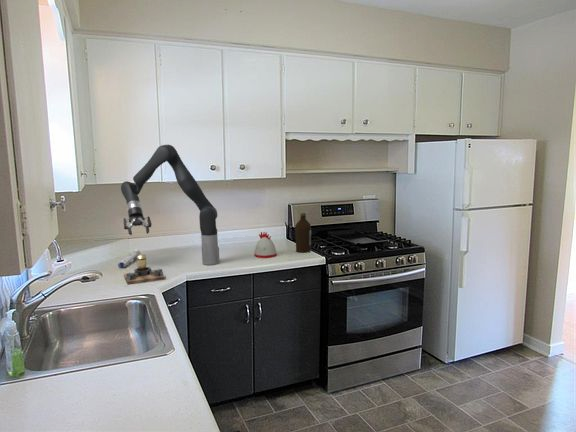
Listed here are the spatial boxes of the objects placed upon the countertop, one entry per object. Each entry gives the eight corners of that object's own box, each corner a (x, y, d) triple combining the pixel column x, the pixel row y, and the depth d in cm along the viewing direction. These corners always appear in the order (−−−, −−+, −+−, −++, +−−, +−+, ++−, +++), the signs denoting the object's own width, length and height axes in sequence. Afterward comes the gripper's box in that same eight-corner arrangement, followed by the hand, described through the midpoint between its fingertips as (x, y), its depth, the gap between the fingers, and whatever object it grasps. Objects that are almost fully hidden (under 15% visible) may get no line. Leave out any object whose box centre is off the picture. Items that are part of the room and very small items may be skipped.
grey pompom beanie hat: (261, 252, 269) (260, 229, 267) (280, 254, 263) (279, 231, 261) (250, 257, 256) (249, 233, 254) (269, 259, 250) (269, 234, 248)
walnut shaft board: (159, 272, 224) (158, 269, 224) (165, 279, 210) (165, 276, 210) (123, 276, 216) (123, 274, 216) (127, 284, 202) (127, 281, 202)
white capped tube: (116, 262, 232) (133, 246, 256) (117, 273, 234) (135, 256, 258) (125, 262, 232) (142, 246, 256) (126, 273, 234) (143, 256, 258)
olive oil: (295, 253, 264) (295, 214, 261) (294, 249, 275) (294, 212, 271) (312, 252, 265) (312, 214, 261) (310, 249, 275) (310, 212, 272)
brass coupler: (146, 272, 219) (145, 253, 217) (148, 274, 215) (146, 255, 213) (137, 273, 217) (135, 254, 215) (138, 275, 212) (137, 256, 211)
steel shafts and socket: (158, 269, 223) (158, 264, 223) (163, 275, 212) (163, 270, 211) (124, 274, 215) (123, 269, 215) (127, 280, 204) (127, 275, 203)
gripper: (121, 207, 227) (125, 230, 218) (148, 205, 233) (153, 228, 225) (121, 215, 232) (125, 239, 224) (147, 213, 239) (152, 236, 230)
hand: (139, 233), depth 224 cm, fingers open, 8 cm apart
